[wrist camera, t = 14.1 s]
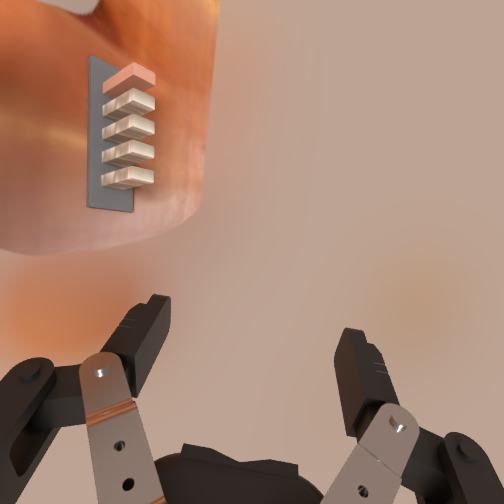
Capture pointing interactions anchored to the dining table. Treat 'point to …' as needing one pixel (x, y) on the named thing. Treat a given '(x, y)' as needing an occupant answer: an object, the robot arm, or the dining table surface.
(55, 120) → the dining table surface
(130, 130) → the domino
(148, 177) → the domino
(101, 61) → the domino board
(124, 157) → the domino
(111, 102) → the domino
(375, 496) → the robot arm
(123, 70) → the end domino
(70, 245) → the dining table surface
